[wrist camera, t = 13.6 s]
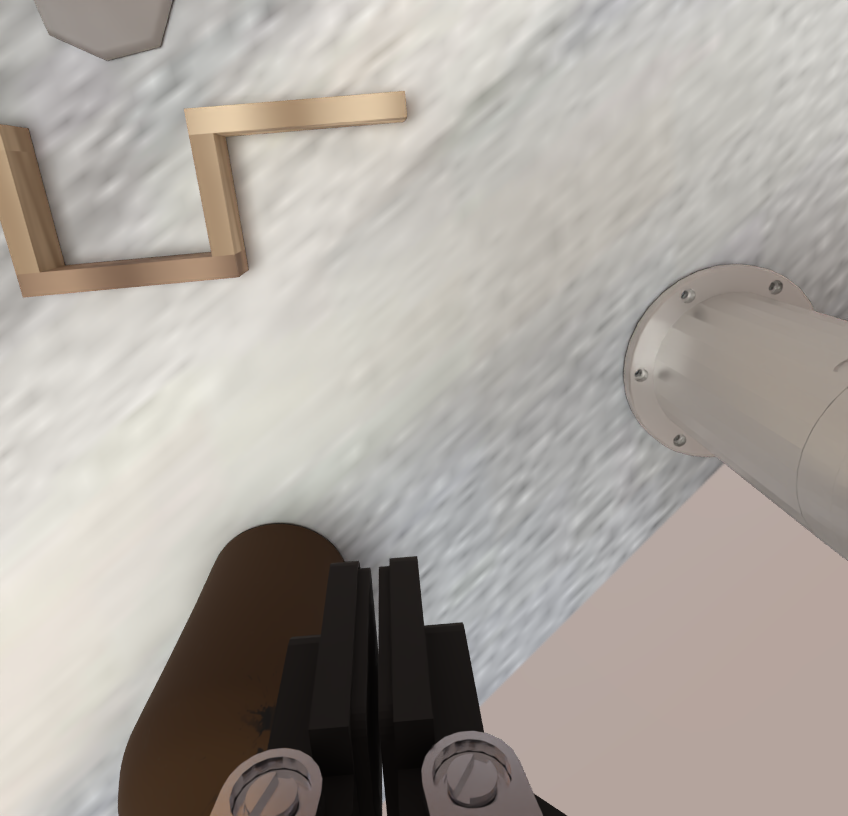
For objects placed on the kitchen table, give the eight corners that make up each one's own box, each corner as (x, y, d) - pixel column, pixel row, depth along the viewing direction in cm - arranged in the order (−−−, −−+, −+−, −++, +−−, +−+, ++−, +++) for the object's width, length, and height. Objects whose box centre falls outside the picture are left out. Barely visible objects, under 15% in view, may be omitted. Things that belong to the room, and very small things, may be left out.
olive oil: (186, 526, 43) (-37, 949, 19) (344, 502, 43) (314, 889, 20) (223, 654, 46) (74, 1141, 23) (368, 631, 47) (368, 1087, 23)
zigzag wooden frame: (363, -353, 29) (363, -410, 26) (415, 254, 38) (418, 260, 35) (-172, -328, 28) (-233, -385, 25) (13, 291, 37) (-16, 301, 34)
